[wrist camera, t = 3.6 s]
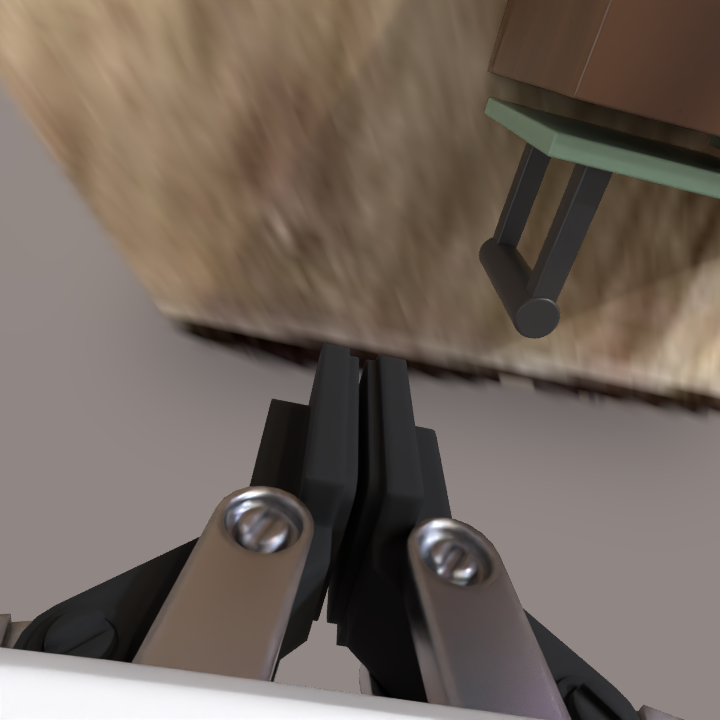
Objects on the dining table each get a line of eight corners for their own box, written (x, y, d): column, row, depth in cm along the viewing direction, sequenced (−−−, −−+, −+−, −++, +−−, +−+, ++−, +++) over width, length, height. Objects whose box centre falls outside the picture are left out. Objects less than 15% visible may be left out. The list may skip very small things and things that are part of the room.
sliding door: (442, 245, 24) (478, 338, 17) (488, 96, 21) (556, 131, 14) (637, 289, 25) (750, 394, 18) (706, 153, 22) (874, 213, 15)
